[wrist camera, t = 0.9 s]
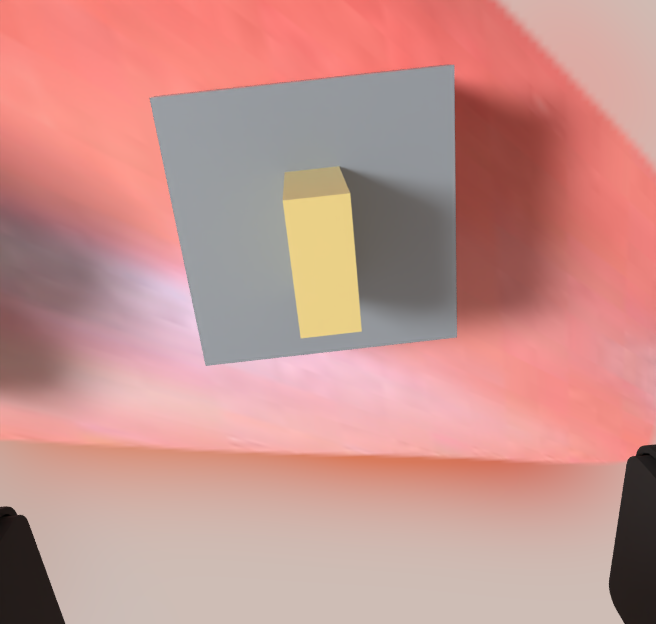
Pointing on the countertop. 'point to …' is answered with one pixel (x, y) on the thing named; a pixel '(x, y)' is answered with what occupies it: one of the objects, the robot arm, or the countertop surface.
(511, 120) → the countertop surface
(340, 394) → the countertop surface
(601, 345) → the countertop surface
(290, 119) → the lid
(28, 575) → the robot arm
